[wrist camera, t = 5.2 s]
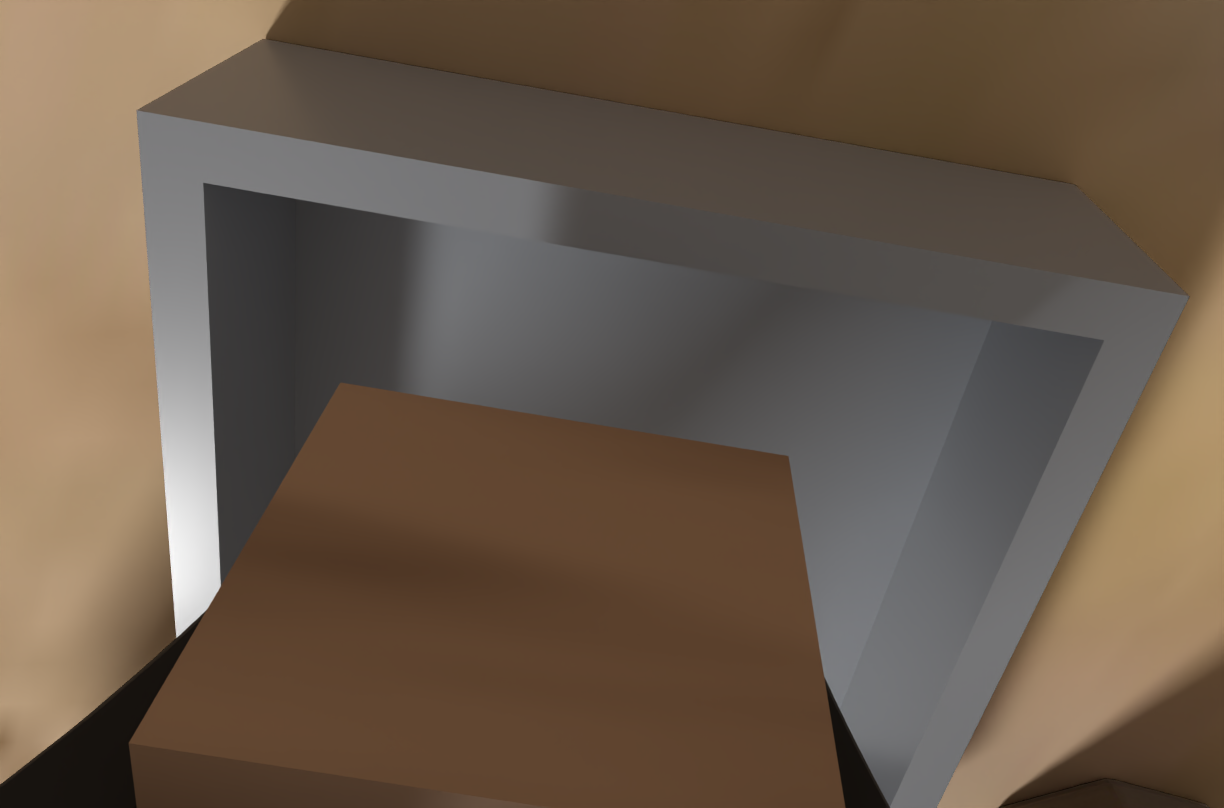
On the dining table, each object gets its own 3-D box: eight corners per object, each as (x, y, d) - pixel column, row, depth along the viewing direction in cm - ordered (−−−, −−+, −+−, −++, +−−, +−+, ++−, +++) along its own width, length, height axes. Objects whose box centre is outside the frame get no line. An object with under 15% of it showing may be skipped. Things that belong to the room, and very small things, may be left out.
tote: (805, 846, 26) (826, 1029, 22) (271, 762, 26) (198, 933, 22) (1075, 184, 17) (1188, 297, 13) (263, 38, 17) (136, 110, 13)
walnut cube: (699, 758, 14) (706, 1186, 10) (333, 701, 14) (174, 1110, 9) (787, 456, 11) (852, 853, 7) (340, 382, 11) (129, 743, 7)
